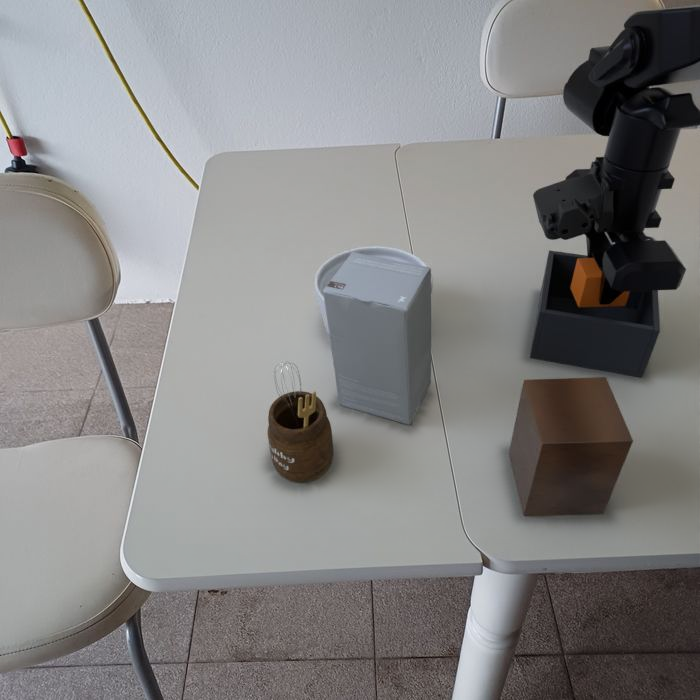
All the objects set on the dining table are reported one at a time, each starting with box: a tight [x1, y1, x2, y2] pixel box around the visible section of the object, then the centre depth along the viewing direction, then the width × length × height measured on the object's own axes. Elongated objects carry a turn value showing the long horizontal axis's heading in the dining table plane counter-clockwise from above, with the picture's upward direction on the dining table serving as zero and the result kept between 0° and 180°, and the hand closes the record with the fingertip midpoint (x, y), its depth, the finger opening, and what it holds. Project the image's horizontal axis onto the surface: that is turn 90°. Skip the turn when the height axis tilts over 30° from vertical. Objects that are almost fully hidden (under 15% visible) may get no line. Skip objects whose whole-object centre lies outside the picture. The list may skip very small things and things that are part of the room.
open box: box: [529, 250, 661, 378], centre depth 72 cm, size 12×12×7 cm
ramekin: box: [313, 245, 433, 334], centre depth 74 cm, size 13×13×7 cm
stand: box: [508, 376, 634, 517], centre depth 56 cm, size 7×7×10 cm
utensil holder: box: [267, 361, 334, 483], centre depth 58 cm, size 6×6×12 cm
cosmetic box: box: [323, 252, 432, 425], centre depth 62 cm, size 8×7×16 cm
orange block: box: [570, 258, 630, 307], centre depth 69 cm, size 5×4×4 cm
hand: (599, 292), depth 70 cm, fingers closed on orange block, 3 cm apart
